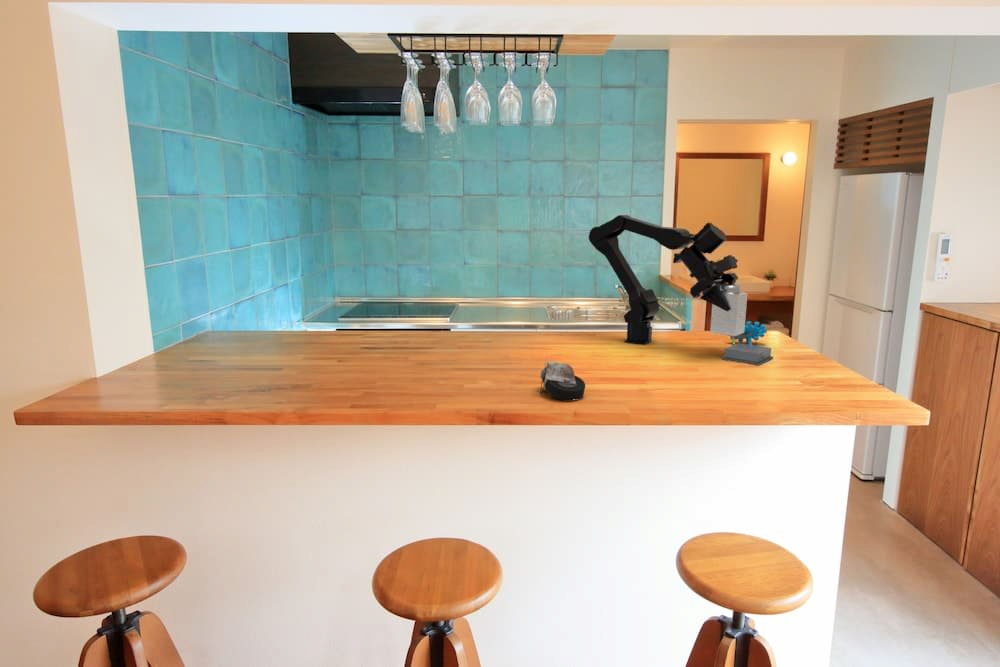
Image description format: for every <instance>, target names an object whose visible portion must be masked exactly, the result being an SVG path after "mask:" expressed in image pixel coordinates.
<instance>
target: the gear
mask: <svg viewBox="0 0 1000 667" xmlns="http://www.w3.org/2000/svg"><path fill="white" fill-rule="evenodd" d="M766 333H767V328H766V325H765V324H763V323H762V324H760V322H759V321H754V325H753V324H752V321H750V320H748V321H745V330H744V333H742V334H740V335H737V336H731V335H727V336H728V337H730V340H731V342H732V345H733V344H736V340H738V342H744V340H745V342H746V341H748V342H747V344H748V345H753V341H752V339H753V340H754V341H758V340H759V337H760V338H764V337H765V334H766Z"/></svg>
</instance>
